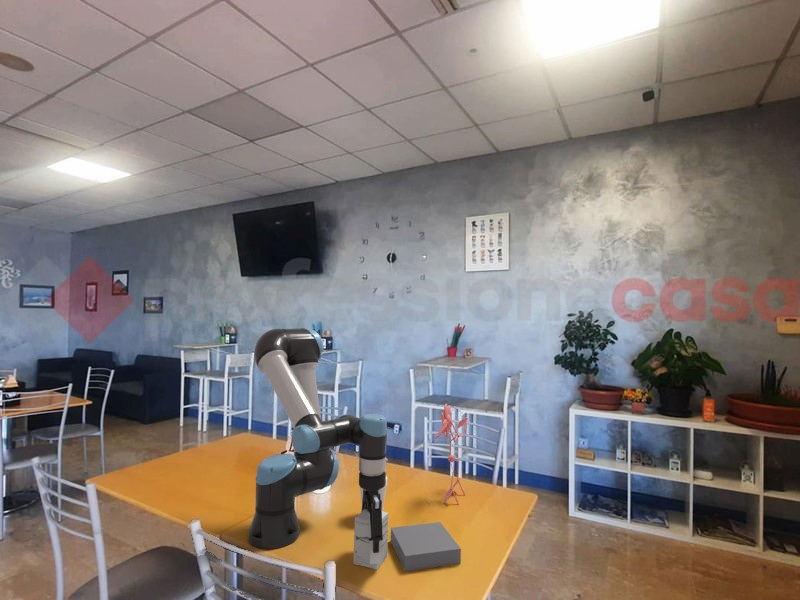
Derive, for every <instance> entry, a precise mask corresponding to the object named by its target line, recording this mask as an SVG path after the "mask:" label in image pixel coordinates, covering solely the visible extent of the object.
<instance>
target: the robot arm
mask: <svg viewBox="0 0 800 600" xmlns="http://www.w3.org/2000/svg"><path fill="white" fill-rule="evenodd" d="M253 352H254V355H253V356H254V361H255V364H256V365H257V367H258V370H259V372H261V373H263V374H265V376H266V378H267V380H268V382H269V383H270V385H271V387H272V389H273V391H274V393H275V394H276V397H277V398H278V400H279V402H280V404H281V405H282V407H283V409H284V412H285V414H286V415H287V416H288V419H289V421H290V422H291V424H292V427H293V429H292V432H291V438H290V439H291V442H292V447H293V454H292V453H282V454H280V453H278V454H274V455H270V456H268V457H266V458H264V459H263V460H261V461H260V462H259V464H258V465H257V468H256V474H255V475H256V476H255V511H254V515H253V517H252V521H251V523H250V527H249V529H248V536H247V537H248V543H249V545H251V546H252V547H254V548H258V549H266V550H270V549H278V548H279V549H280V548H283V547H286V546H289V545H290V544H292V543H294V542H296V541H297V539H299V537H300V534H301V532H300V529H301V526H300V521H299V519H298V515H297V512H296V509H295V504H296V503H295V501H296V498H297V497H299V496H303V495H305V494H309V493H312V492H315V491H319V490H321V491H322V490H323V489H325V488H327V487H330V486H332V485H333V484H334V483H335V481H336V479H337V478H338V476H339V470H340V463H339V457H338V455H337V454H336V452H335V451H334V449H331V448H335V447H339V446H343V445H348V444H350V445H351V444H352V445H353V446H354V445H355V446H356V447H359V453H358V455H359V457H358V471H359V473H358V485H359V487H361V488H363V499H362V500H361V511H360V513H361V512H362V511H363V510H364V509H367V511H368V512H369V514H370V527H371V538H369V541H370V565H371V564H379V563H380V541H381V540H383V533H382V500H380V499H381V498H380V494H379V492H378V491H379V490H380V489H381V488H383V487H384V486H385V485H386V476H387V472H386V467H387V464H386V463H387V462H388V461H389V459H388V458H387V437H388V436H387V435H388V428H387V426H388V424H387V418H386V417H385V416H384V415H383V414H380V413H379V414H376V413H368V414H367V413H366V414H363V415H361V416H360V417H357V416H354V415H352V414H345V413H342V414H338V415H337V416H336V417H334V419H329V420H322V416H321V407H320V401H319V392H318V383H317V377H316V368H317V367H318V366H319V360H320V359H321V358H322V357H323V354H324V353H323V352H324V343H323V339H322V337H321V335H320V334H319V333H318V332H317V331H316V330H314V329H313V328H303V327H301V328H272V329H269V330H267V331H266V332H264V333H263V334H262V335H260V337H259V338H258V340H257V341H256V343H255V347H254V351H253Z"/></svg>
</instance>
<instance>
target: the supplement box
mask: <svg viewBox="0 0 800 600" xmlns="http://www.w3.org/2000/svg"><path fill="white" fill-rule="evenodd" d="M361 511H362V510H361ZM361 511H360V512H359V513H358V515H356V516H355V518H354V535H353V536H354V539H353V565H357V566H362V567H365V568H369V569H374V570H375V571H377V570H378V569H379V568H380V567H381V566H382V565H383V563H384V562H385V561H386V559H387V557H388V536H389V534H388V533H389V532H388V531H389V530H388V529H389V512H387V511H384V510H383V511H382V533H383V540H381V541H380V563H379V564H371V565H370V541H369V538H371V527H370V514H369V512H368V511H367V509H364V510H363V511H362V512H361Z"/></svg>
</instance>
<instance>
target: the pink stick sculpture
mask: <svg viewBox="0 0 800 600" xmlns="http://www.w3.org/2000/svg"><path fill="white" fill-rule="evenodd" d="M451 407H452V406H451V405H448V404H447V403H445V404H444V408H443V412H441V416H440V417H441V421H442V422H441V423H442V424H441V425H442V426H441V428H439V430H438V431H437V433H436V435H435V437H434V440H437V439H438V437H440V436H441V434H442V435H443V436H444V435H445V437H446V438H449V435H451V437H452V438H451V439H450V440H449V455H448V458H447V460H448V462H449V463H450V467H451V470H452V476H451V480H450V481H451V482H450V487H449V489H448V490H447V492H446V494H445V496H444V500H443V504H446V502H447V501H448V500H449V499H450V498H451V496H452V495H453V497H454V498H455V502H456V504H457V505H459V504H460V503H459V500H458V498H457V496H456V494H455V492H454V488H455V487H456V486H457V485H459V487H460V490H461V491H462V494H463V496H465V495H466V493H465V491H464V488H463V486H462V484H461V481H460V480H461V477H459V471H460V469H459V468H460V461H459V460H458V459H456V456H455V455H454V454H452V441H453V443H456V441H457V439H458V438H460V437H462V438H465V437H466V429H467V423H468V416H466V417H465V418H463V419H462V420H460V421H459V422H458V423H457V426H456V427H457V429H460V428H461V427H462V426H464V429H463V435H461V434H460V433H458V431H457V429H456V427H455V425H454V423H453V421H452V417H451V411H452V410H451V409H452V408H451ZM451 427H453V430H454V432H455V434H456V436H454V434H453V432H452V429H451ZM454 462H457V474H456V475H457V477H456V478H457V479H456V481H455V482H454V484H453V479H454V473H455V471H454V467H453V464H452V463H454ZM467 489H469V490H471V488H470V487H467ZM433 490H434V488H432V489H431V491H433ZM428 492H430V490H428V491H427V493H428ZM427 493H426V494H425V493H424V494H425V495H424V496H426V495H427ZM427 504H428V505H429V506H431V505H430V503H429V502H427Z"/></svg>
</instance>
